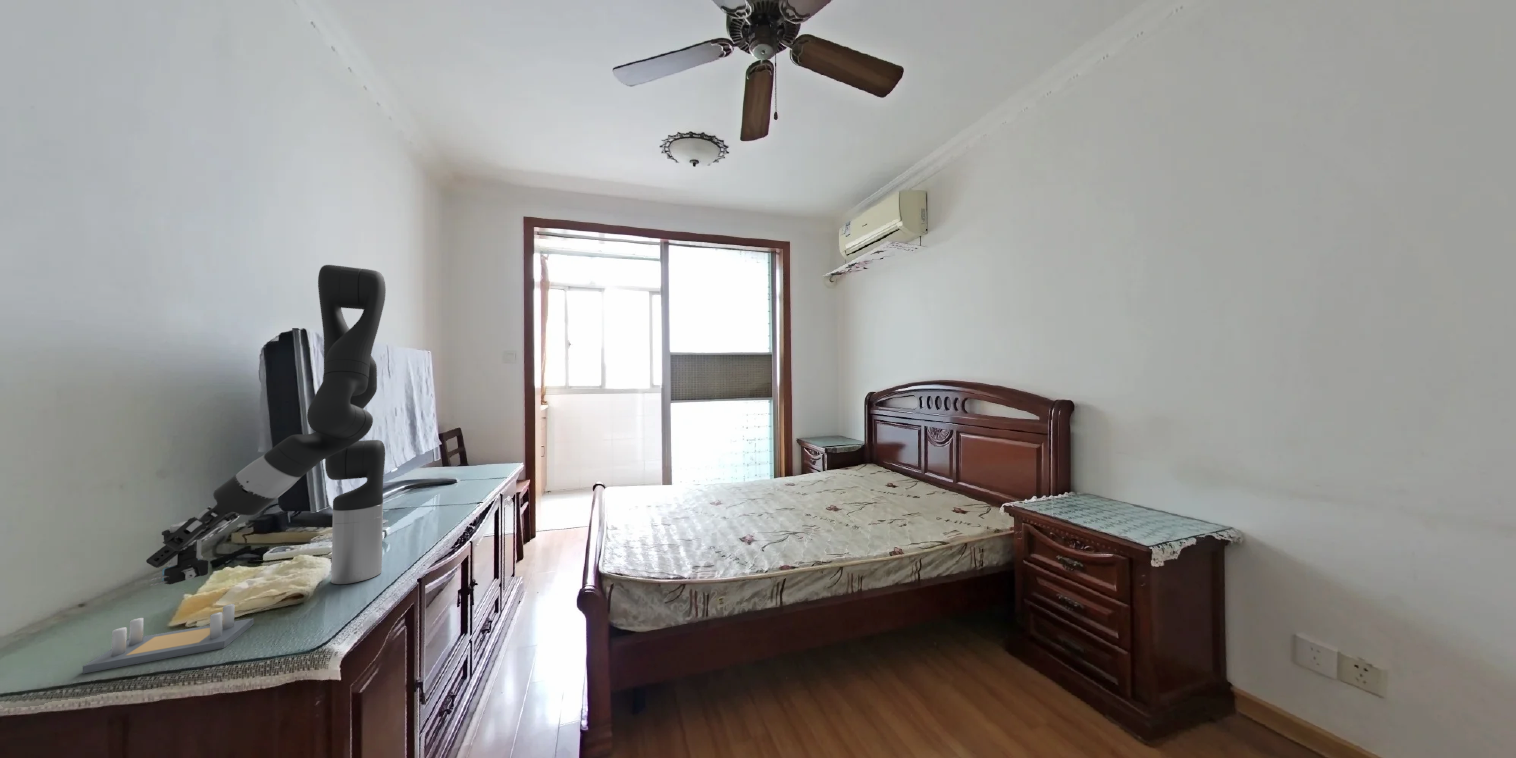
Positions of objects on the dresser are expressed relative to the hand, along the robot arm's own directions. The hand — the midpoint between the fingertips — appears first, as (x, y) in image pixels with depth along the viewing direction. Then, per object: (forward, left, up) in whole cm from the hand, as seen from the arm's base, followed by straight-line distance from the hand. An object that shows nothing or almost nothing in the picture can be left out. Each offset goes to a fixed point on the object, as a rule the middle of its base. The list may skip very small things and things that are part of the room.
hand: (164, 558), depth 79 cm
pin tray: (0, +2, -16) cm, 16 cm away
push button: (0, +2, -4) cm, 5 cm away
